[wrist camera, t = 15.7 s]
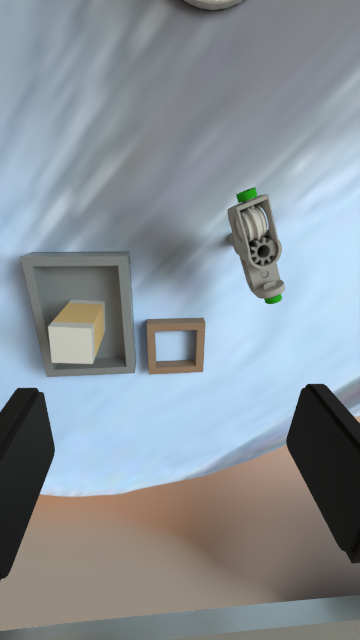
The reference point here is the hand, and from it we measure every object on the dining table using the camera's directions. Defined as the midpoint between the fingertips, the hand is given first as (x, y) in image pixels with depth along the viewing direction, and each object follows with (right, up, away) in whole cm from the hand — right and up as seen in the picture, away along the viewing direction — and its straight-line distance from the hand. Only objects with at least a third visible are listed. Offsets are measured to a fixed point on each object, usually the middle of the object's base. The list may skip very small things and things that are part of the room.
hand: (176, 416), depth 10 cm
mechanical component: (+7, +13, +23) cm, 27 cm away
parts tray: (-11, +5, +25) cm, 28 cm away
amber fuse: (-11, +4, +24) cm, 27 cm away
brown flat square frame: (-1, 0, +27) cm, 27 cm away
